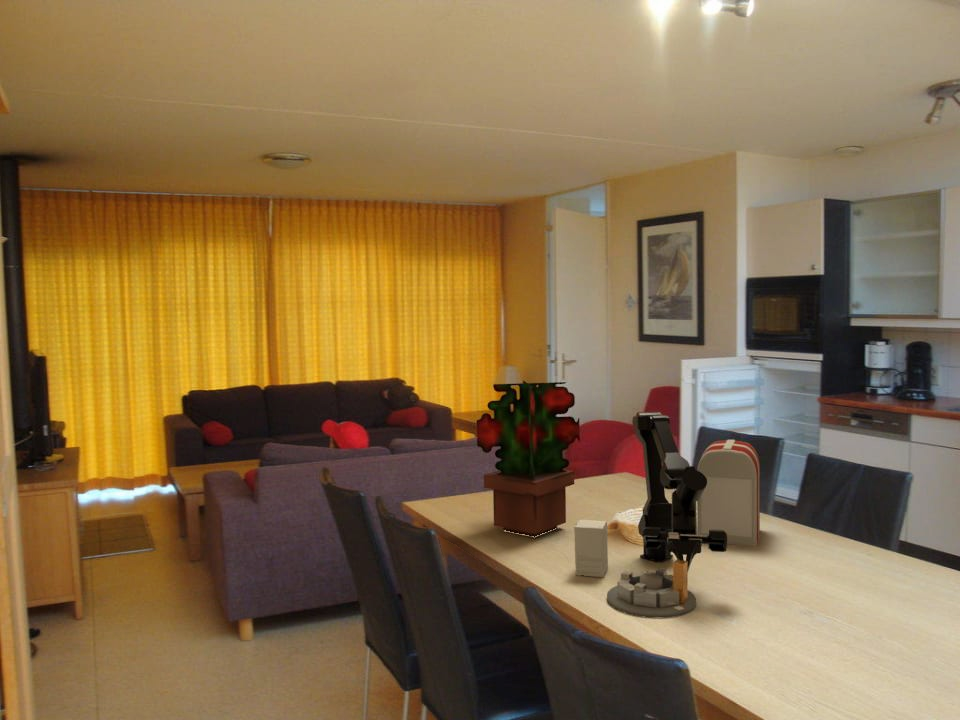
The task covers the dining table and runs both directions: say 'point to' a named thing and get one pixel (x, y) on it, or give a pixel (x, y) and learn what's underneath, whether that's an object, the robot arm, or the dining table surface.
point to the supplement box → (591, 548)
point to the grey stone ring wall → (668, 595)
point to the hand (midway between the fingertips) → (684, 573)
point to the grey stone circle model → (669, 611)
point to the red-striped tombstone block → (730, 492)
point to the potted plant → (529, 455)
